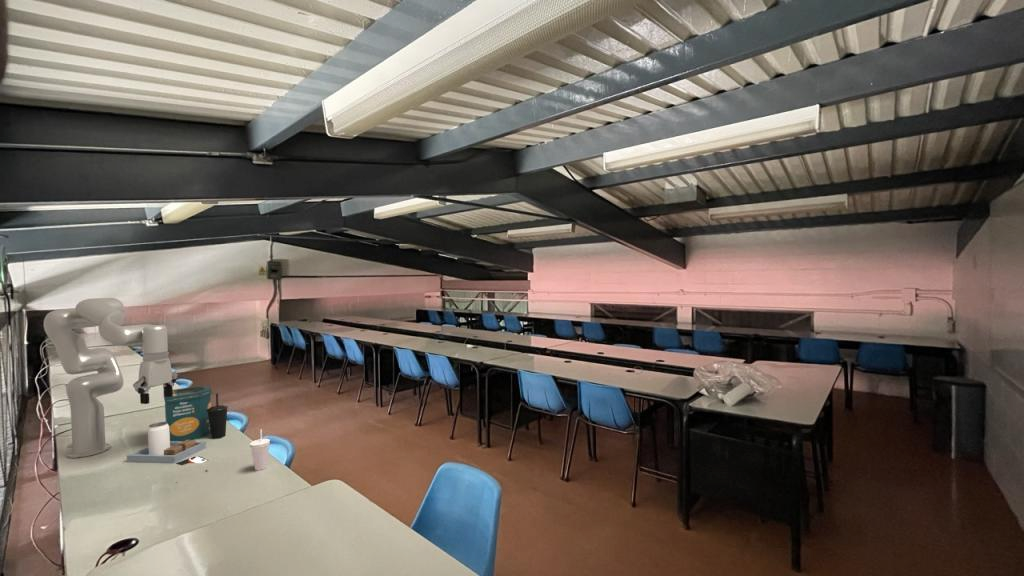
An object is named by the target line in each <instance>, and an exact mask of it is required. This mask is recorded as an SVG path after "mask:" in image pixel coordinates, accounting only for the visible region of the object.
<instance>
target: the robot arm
mask: <svg viewBox="0 0 1024 576" xmlns="http://www.w3.org/2000/svg"><path fill="white" fill-rule="evenodd" d="M124 311H125V306H124V304H123V302H122V301H121V300H120V299H118V298H116V297H101V298H100V297H99V298H97V297H95V298H86V299H83V300H81V301H79V302H78V303H76V305H75V307H69V308H61V309H60V308H59V309H56V310H52V311H50V312H48V313H47V314H46V315H45V317H44V319H43V329H44V332H45V334H46V336H47V337H48V338H49V340H50V341H51V342H52V344H53V345H54V347H55V350H56V353H57V355H58V358H59V361H60V363H61V366H62V368H63V370H64V372H65V373H66V374H67V375H70V376H71V375H72V376H73V375H81V374H82V375H81V376H77V377H75V378H72V379H71V380H70V381H68V383H67V384H66V387H65V392H66V395H67V399H68V401H69V408H70V418H71V419H70V422H71V423H70V424H71V442H70V443H69V444H67V445H66V448H68V449H71V450H70V451H69V452H67V455H66V457H67V458H69V459H78V457H80V458H85V457H90V456H95V455H98V454H101V453H103V452H106V451H108V450H109V449H111V447H112V444H111V443H108V442H107V443H106V428H105V427H106V426H105V425H106V424H105V408H104V404H103V403H102V402H101V401H100V400H98V398H97V397H100V396H104V395H109V394H113V393H116V392H119V391H120V390H121V389H122V388H123V386H124V378H123V374H122V372H121V369H120V366H119V363H118V361H117V358H116V356H115V354H114V353H113V352H112V350H110V349H109V348H106V347H105V348H104V347H98V348H97V347H96V348H88V346H87V344H86V341H85V339H84V338H83V337H82V336H81V335H80V334H78V333H77V332H75V331H73V330H74V329H85V328H94V327H98V333H99V335H100V337H101V338H102V339H103V340H104V341H106V342H108V343H110V344H113V345H114V346H118V347H125V346H132V345H140V344H142V361H141V362H140V364H139V369H138V380H137V381H135V382H134V383H133V384H132V387H133V389H134V390H135V392H137V394H139V396H140V397H139V399H140V401H139V402H140V403H139V404H141V405H147V404H150V393H149V392H150V391H149V390H150V389H152V388H154V387H159V386H162V385H163V384H164V385H165V387H164V390H163V397H164V396H165V397H172V396H173V390H174V389H173V387H174V386H175V383H176V382H177V377H178V375H179V374H178V373H176V372H172V371H173V370H172V364H171V361H170V358H169V355H170V352H169V350H168V348H169V346H168V341H169V340H168V328H167V326H166V325H165V324H150V323H144V324H143V323H141V324H135V325H134V324H133V325H124V326H123V323H124V321H125V314H124ZM121 325H122V326H121ZM72 329H73V330H72ZM93 372H97V373H93ZM87 373H89V374H87ZM90 373H91V374H90ZM83 374H85V375H83Z"/></svg>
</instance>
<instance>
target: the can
mask: <svg viewBox="0 0 1024 576" xmlns="http://www.w3.org/2000/svg"><path fill="white" fill-rule="evenodd" d="M167 423H168V422H166V421H158V422H154V423H152V424H150V425H148V427H149V428H148V429H147V441H148V442H147V444H148V446H147V447H148V448H149V455H164V450H165V449H167V448H169V447H170V432H169V425H168V424H167Z"/></svg>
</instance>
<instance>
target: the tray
mask: <svg viewBox="0 0 1024 576" xmlns="http://www.w3.org/2000/svg"><path fill="white" fill-rule="evenodd" d="M181 442H182V441H170V447H171V446H178V443H181ZM206 443H207V442H206V441H196V446H193V447H191V448H189V449H187V450H185V451H183V452H180V453H178V454H176V455H149V448H148V446H147V447H144V448H142V449H138V450H137V451H134V452H131V453H130V454H126V462H127V463H148V464H149V463H151V464H152V463H153V464H156V463H157V464H158V463H159V464H176V463H178V462H181V461H183V460H185V459H186V458H188V457H189V458H190V457H192V456H194V455H195V454H197V453H199V452H201V451H203V450H206V449H207V444H206Z"/></svg>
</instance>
